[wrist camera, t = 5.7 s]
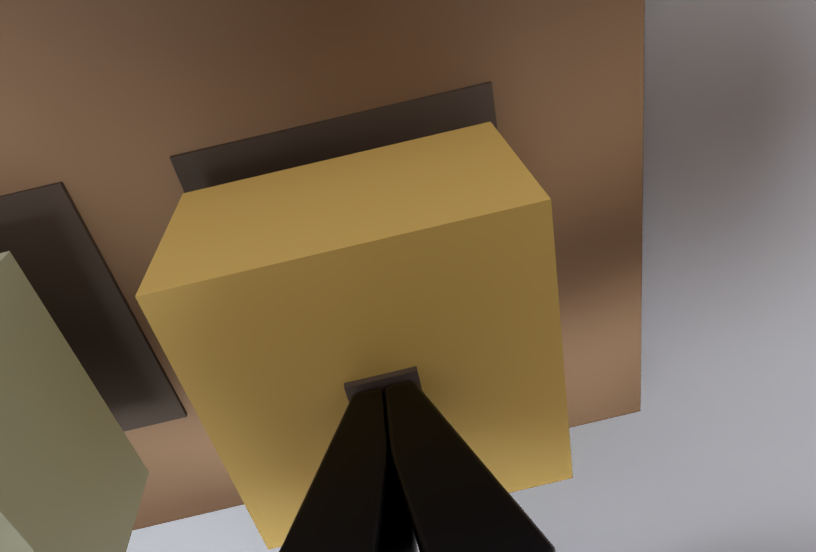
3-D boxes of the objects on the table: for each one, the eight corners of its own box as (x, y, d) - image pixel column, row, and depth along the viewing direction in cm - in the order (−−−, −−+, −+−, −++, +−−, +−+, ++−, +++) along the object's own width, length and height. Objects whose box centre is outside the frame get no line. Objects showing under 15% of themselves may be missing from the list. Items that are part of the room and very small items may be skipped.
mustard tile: (520, 359, 12) (575, 482, 10) (278, 416, 12) (267, 554, 10) (490, 121, 10) (554, 202, 7) (182, 193, 10) (132, 301, 7)
